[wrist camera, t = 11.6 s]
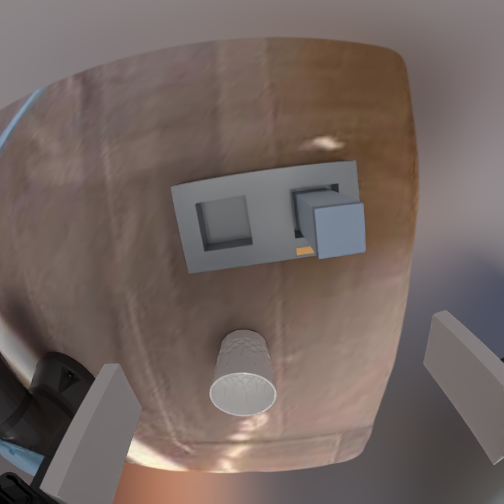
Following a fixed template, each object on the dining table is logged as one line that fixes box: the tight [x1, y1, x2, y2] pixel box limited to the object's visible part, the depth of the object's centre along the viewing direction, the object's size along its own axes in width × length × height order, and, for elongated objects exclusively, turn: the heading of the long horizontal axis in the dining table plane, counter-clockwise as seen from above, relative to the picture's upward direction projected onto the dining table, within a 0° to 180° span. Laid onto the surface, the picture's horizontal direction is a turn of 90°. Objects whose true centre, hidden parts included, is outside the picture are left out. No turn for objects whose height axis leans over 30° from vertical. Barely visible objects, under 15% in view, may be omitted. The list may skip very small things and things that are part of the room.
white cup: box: [209, 329, 276, 416], centre depth 36 cm, size 8×8×10 cm
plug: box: [292, 188, 366, 259], centre depth 27 cm, size 4×4×12 cm
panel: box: [171, 160, 360, 274], centre depth 32 cm, size 20×10×4 cm, turn 99°
